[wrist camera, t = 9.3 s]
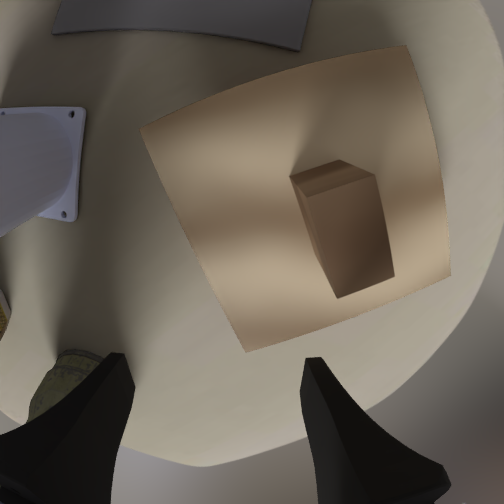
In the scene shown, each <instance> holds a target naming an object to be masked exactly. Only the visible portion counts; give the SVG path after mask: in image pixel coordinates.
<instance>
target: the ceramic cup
mask: <svg viewBox="0 0 504 504" xmlns="http://www.w3.org/2000/svg"><path fill="white" fill-rule="evenodd" d="M10 316H11V311H10V309H9V306H8V304H7V301H6V299H5V296H4V293H3V292H2V290H1V289H0V340H1V339H2V337H3V335H4V333H5V331H6V329H7V326H8V323H9V319H10Z"/></svg>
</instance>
